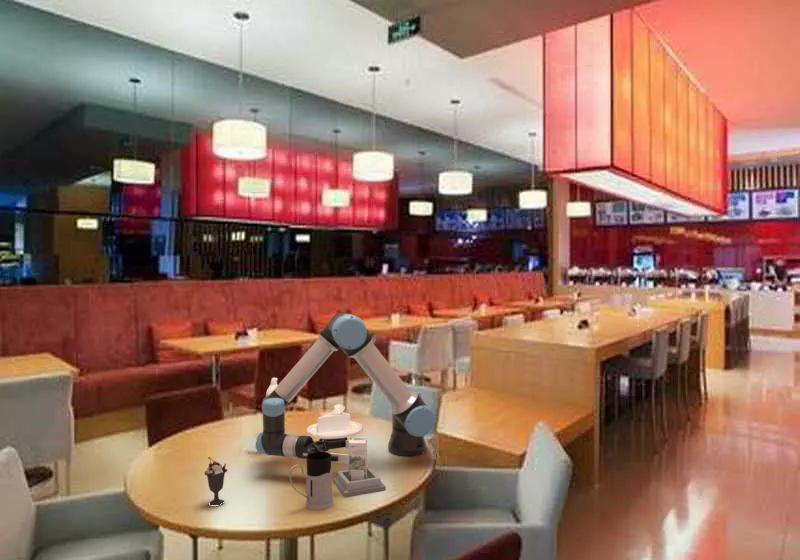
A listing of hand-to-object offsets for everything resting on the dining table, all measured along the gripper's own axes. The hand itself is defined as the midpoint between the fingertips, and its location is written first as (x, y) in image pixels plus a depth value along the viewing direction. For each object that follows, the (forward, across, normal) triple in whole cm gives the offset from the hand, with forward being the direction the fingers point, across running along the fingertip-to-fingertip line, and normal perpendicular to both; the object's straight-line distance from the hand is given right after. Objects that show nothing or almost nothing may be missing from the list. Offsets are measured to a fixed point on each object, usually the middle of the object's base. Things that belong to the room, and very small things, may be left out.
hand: (356, 452), depth 186 cm
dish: (-33, -56, -12) cm, 66 cm away
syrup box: (0, 0, -10) cm, 10 cm away
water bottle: (-54, -39, -12) cm, 68 cm away
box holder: (+1, 0, -11) cm, 11 cm away
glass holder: (-8, +18, -12) cm, 23 cm away
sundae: (-37, +25, -12) cm, 46 cm away
